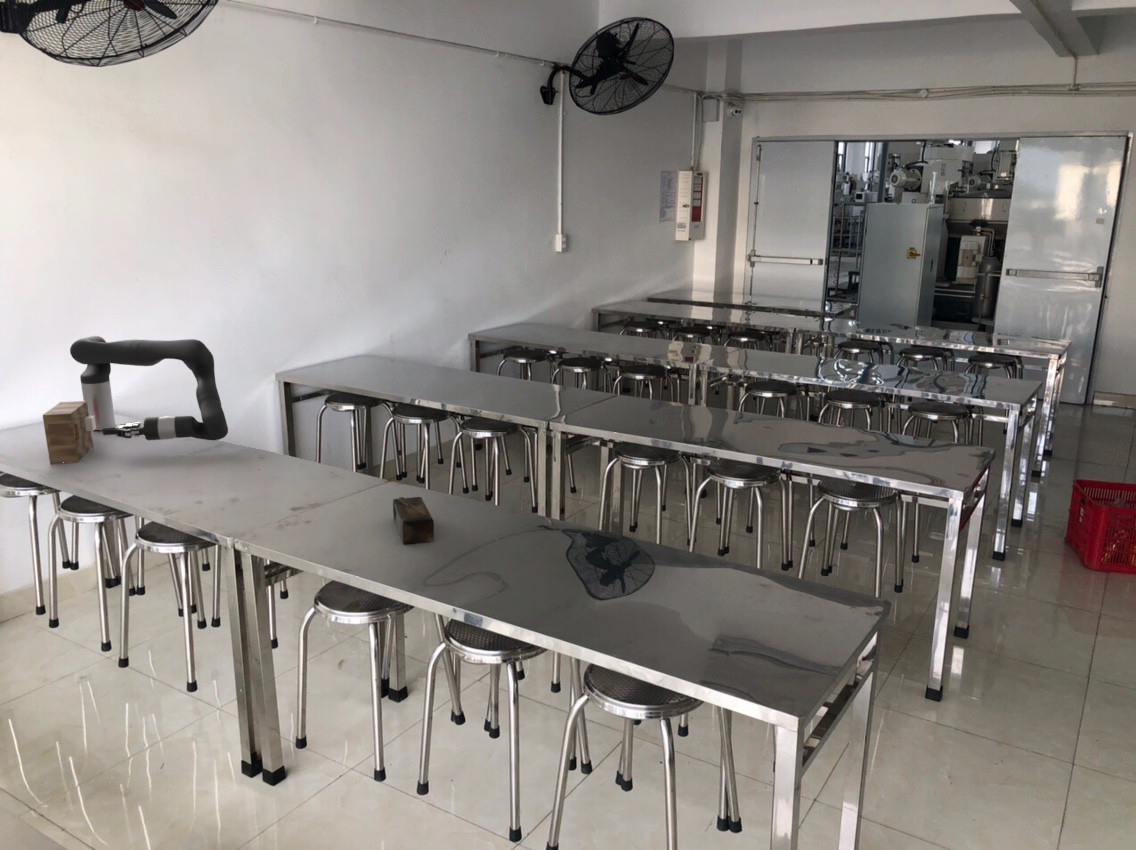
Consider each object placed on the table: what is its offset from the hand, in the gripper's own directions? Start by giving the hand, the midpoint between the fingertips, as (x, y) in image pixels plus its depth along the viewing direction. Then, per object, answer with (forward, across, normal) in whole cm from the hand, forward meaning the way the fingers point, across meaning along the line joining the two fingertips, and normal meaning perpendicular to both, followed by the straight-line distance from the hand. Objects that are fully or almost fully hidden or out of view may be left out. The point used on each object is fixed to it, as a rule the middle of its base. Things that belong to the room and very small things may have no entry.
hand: (103, 431), depth 287 cm
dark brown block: (-92, -86, -10) cm, 127 cm away
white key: (+8, +12, -2) cm, 15 cm away
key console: (+12, +6, -9) cm, 16 cm away
